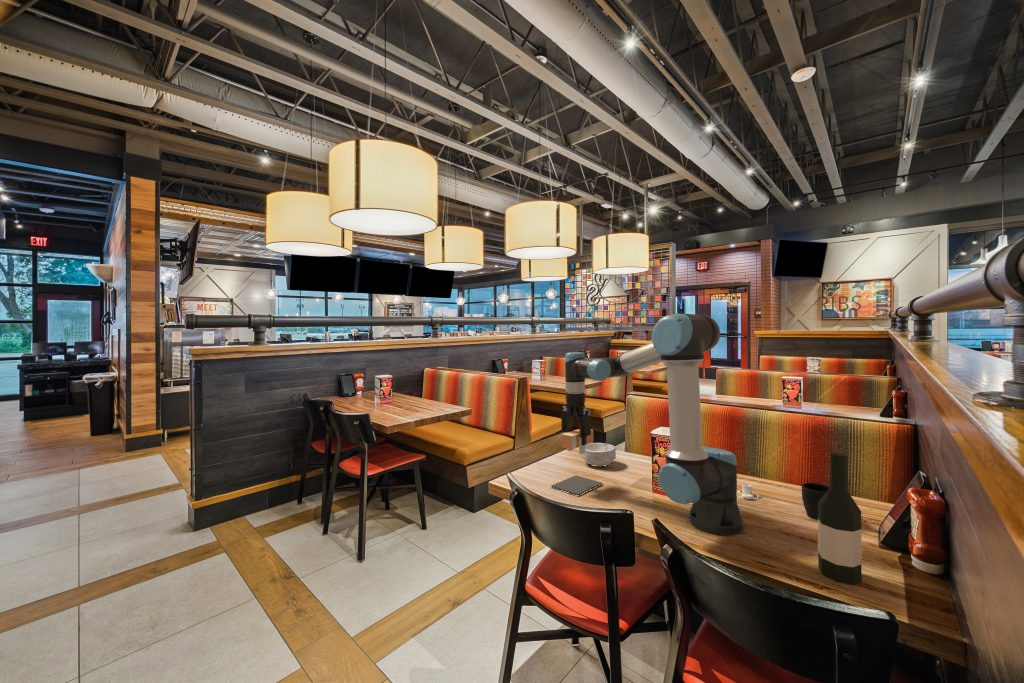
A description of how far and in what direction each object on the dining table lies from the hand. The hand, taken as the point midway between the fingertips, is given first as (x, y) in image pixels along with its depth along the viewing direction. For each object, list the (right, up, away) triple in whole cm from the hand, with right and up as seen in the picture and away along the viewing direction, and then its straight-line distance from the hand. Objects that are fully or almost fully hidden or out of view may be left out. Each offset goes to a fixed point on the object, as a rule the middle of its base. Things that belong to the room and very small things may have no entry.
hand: (576, 451), depth 163 cm
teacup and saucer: (+57, -13, -12) cm, 59 cm away
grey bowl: (+14, -13, +27) cm, 33 cm away
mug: (+73, -13, -32) cm, 81 cm away
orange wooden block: (+6, +5, +6) cm, 10 cm away
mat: (0, -13, 0) cm, 13 cm away
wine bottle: (+55, -14, -62) cm, 83 cm away
